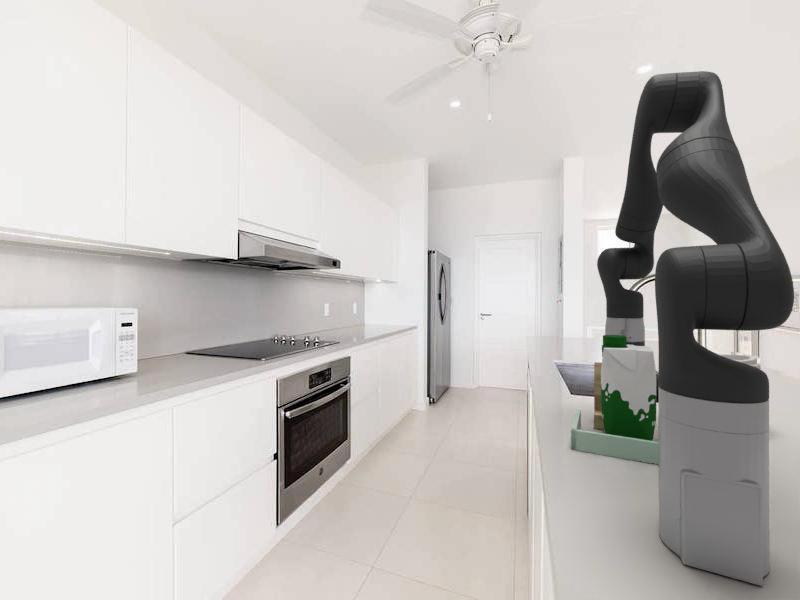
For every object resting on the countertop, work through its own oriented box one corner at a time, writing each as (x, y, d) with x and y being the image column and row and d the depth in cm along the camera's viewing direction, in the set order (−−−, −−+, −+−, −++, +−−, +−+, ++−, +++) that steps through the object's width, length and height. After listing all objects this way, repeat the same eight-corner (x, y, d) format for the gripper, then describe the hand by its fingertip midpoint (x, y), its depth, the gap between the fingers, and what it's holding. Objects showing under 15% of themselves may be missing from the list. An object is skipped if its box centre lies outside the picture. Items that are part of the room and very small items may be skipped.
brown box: (651, 437, 72) (651, 371, 72) (594, 428, 77) (593, 366, 77) (648, 426, 78) (647, 365, 78) (594, 418, 83) (594, 361, 83)
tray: (706, 473, 57) (706, 450, 57) (571, 449, 67) (571, 430, 67) (689, 442, 69) (689, 424, 69) (576, 425, 79) (576, 409, 79)
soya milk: (601, 428, 77) (601, 333, 77) (653, 436, 73) (653, 335, 72) (600, 443, 69) (600, 337, 69) (659, 452, 65) (658, 340, 65)
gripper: (647, 342, 74) (647, 428, 74) (642, 335, 85) (642, 409, 86) (604, 340, 78) (605, 422, 78) (605, 333, 89) (605, 404, 89)
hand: (624, 415), depth 82 cm, fingers closed
